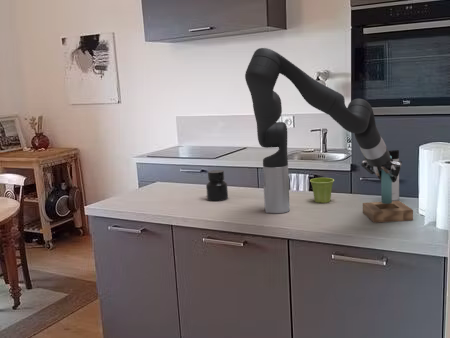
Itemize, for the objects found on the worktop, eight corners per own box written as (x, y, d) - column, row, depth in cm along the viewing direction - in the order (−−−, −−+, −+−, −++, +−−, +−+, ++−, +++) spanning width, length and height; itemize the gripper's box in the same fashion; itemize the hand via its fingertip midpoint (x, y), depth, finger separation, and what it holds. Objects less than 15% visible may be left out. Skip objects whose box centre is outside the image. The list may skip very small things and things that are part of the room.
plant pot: (339, 202, 191) (339, 180, 190) (318, 205, 188) (318, 183, 186) (326, 197, 200) (325, 176, 198) (306, 200, 196) (305, 179, 195)
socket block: (373, 222, 162) (373, 212, 161) (362, 212, 175) (362, 202, 174) (413, 220, 162) (413, 209, 161) (399, 210, 174) (399, 200, 174)
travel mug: (391, 204, 183) (391, 151, 180) (378, 200, 189) (377, 149, 186) (403, 201, 186) (403, 149, 183) (390, 198, 192) (390, 147, 189)
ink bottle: (218, 195, 216) (216, 168, 213) (232, 197, 209) (231, 170, 207) (202, 200, 209) (200, 172, 207) (216, 202, 203) (215, 174, 201)
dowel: (383, 204, 165) (383, 157, 163) (379, 201, 169) (379, 156, 166) (393, 203, 166) (393, 156, 163) (389, 200, 169) (389, 155, 166)
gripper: (350, 157, 159) (366, 187, 170) (392, 159, 150) (406, 190, 161) (356, 139, 162) (372, 169, 173) (399, 140, 153) (412, 172, 164)
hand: (389, 179), depth 167 cm, fingers closed on dowel, 3 cm apart
